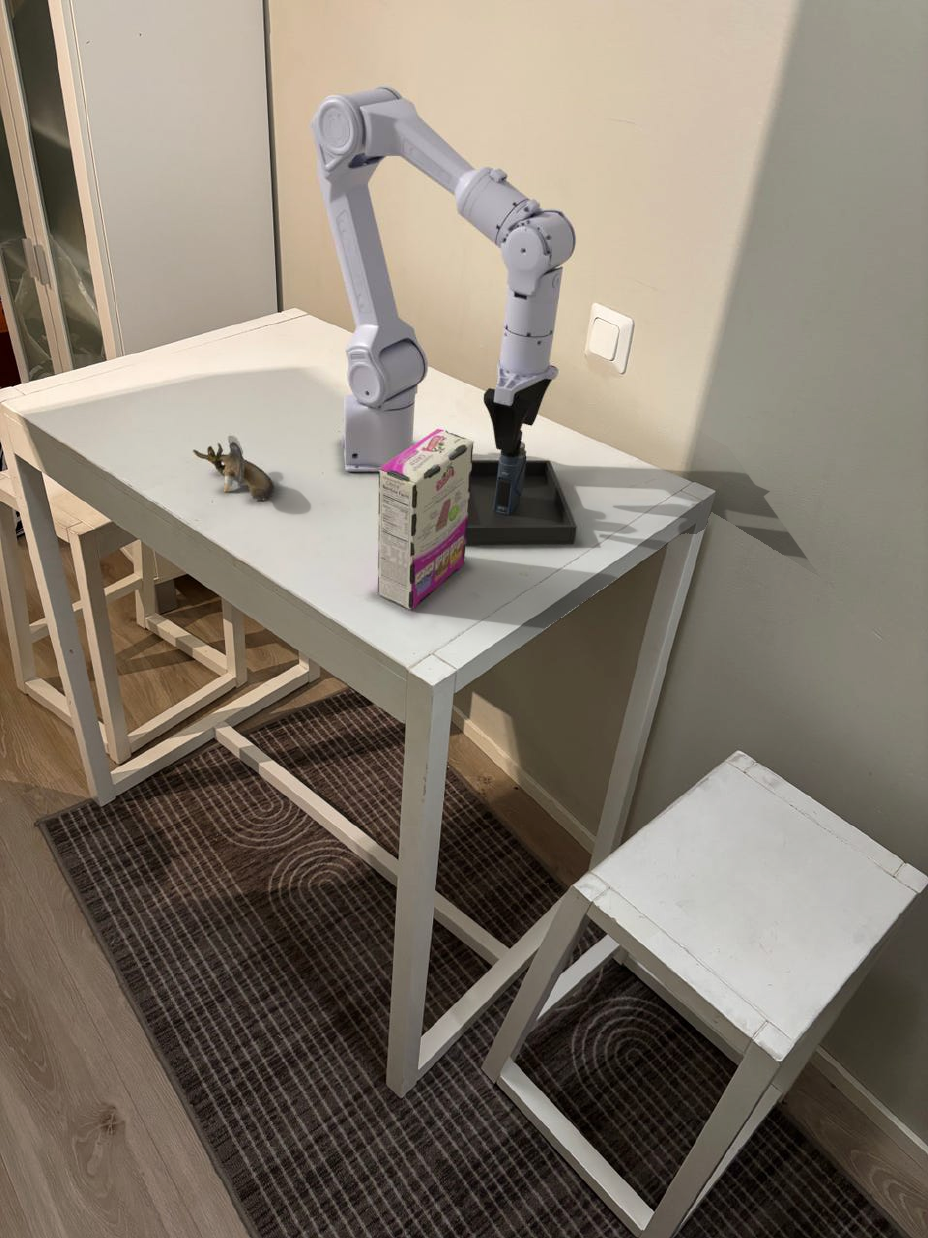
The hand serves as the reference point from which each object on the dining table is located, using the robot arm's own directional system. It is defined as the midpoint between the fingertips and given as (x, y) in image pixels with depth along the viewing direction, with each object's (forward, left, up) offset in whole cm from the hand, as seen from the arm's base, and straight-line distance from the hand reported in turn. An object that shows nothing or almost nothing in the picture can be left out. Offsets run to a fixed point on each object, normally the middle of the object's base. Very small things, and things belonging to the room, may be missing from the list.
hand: (515, 435), depth 116 cm
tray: (0, 0, -10) cm, 10 cm away
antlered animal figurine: (-34, +6, -11) cm, 36 cm away
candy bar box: (-13, -15, -11) cm, 22 cm away
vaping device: (0, 0, -10) cm, 10 cm away
